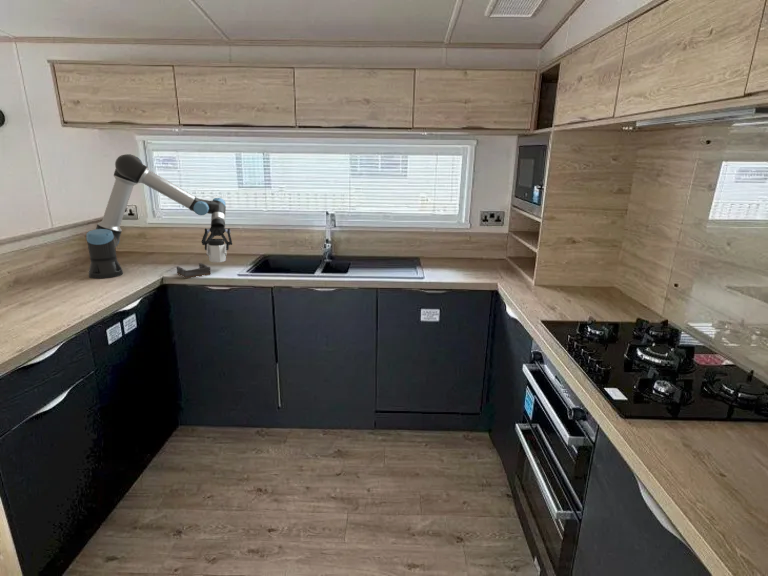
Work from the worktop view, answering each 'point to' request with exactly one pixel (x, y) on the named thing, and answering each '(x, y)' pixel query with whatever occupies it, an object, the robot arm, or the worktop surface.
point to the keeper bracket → (194, 271)
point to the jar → (216, 250)
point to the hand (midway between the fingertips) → (216, 254)
